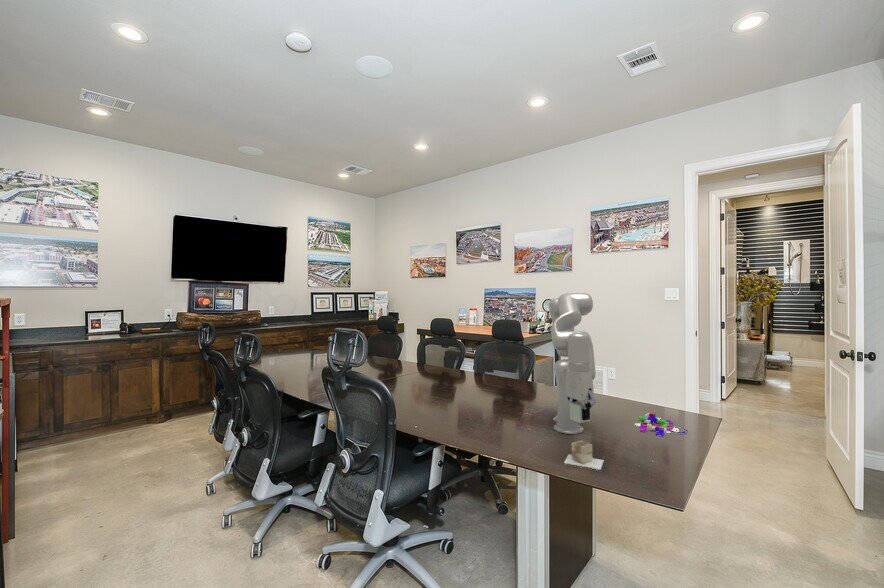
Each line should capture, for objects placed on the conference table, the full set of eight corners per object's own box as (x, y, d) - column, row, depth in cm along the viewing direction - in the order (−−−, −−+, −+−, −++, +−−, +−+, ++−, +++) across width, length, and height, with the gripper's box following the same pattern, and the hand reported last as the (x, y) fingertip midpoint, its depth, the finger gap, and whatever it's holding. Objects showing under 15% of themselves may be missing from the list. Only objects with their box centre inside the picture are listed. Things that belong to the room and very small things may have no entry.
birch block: (571, 459, 144) (571, 442, 144) (581, 456, 147) (581, 440, 147) (582, 464, 140) (582, 447, 140) (592, 461, 142) (592, 444, 142)
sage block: (570, 419, 145) (569, 402, 145) (580, 417, 147) (580, 400, 147) (579, 422, 140) (579, 405, 140) (590, 420, 142) (590, 404, 142)
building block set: (681, 441, 164) (681, 430, 164) (628, 431, 177) (628, 421, 177) (691, 425, 183) (691, 415, 183) (642, 417, 196) (642, 408, 196)
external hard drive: (600, 473, 136) (564, 466, 143) (604, 464, 144) (568, 457, 150) (600, 468, 136) (563, 461, 143) (603, 459, 144) (568, 453, 150)
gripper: (555, 364, 150) (556, 413, 150) (588, 372, 135) (589, 425, 134) (570, 363, 153) (571, 410, 153) (605, 370, 138) (606, 422, 137)
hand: (580, 417), depth 144 cm, fingers closed on sage block, 5 cm apart
